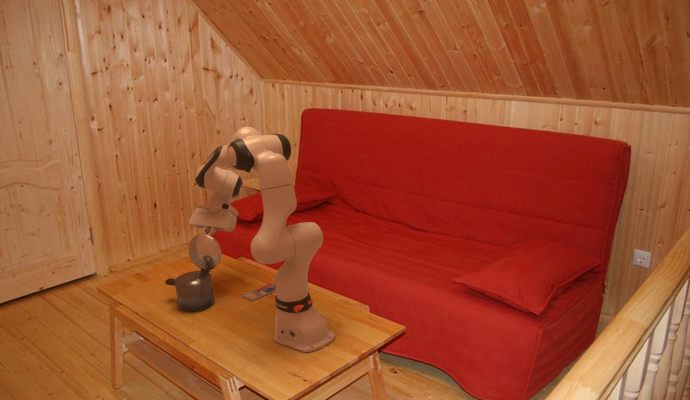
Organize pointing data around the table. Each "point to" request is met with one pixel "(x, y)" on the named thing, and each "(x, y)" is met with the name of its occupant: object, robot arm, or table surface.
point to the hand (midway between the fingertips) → (206, 238)
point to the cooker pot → (193, 291)
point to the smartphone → (260, 292)
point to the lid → (204, 252)
